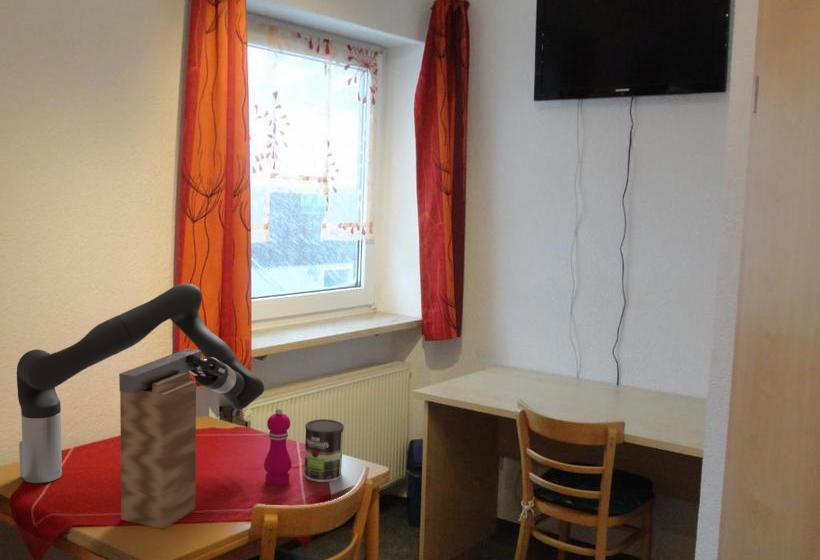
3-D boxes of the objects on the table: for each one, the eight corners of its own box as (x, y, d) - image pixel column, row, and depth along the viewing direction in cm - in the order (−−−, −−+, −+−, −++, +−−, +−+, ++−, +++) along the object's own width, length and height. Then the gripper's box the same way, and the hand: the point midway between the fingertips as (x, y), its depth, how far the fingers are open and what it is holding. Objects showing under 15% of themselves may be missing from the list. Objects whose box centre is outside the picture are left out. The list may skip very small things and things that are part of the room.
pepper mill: (285, 487, 214) (287, 413, 211) (259, 484, 216) (260, 410, 212) (294, 477, 221) (296, 405, 218) (269, 473, 223) (271, 402, 219)
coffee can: (331, 485, 217) (332, 434, 215) (296, 477, 221) (298, 427, 219) (348, 472, 227) (350, 422, 224) (315, 465, 230) (316, 416, 228)
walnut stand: (121, 519, 192) (120, 378, 187) (153, 499, 203) (153, 366, 198) (164, 529, 188) (164, 385, 183) (195, 509, 199) (196, 373, 194)
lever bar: (119, 391, 181) (119, 373, 180) (187, 364, 204) (187, 348, 203) (134, 393, 180) (134, 376, 179) (201, 366, 203) (201, 350, 202)
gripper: (196, 358, 217) (161, 338, 201) (243, 365, 212) (210, 345, 197) (188, 385, 214) (151, 367, 199) (235, 393, 209) (201, 376, 194)
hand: (181, 357), depth 198 cm, fingers closed on lever bar, 4 cm apart
